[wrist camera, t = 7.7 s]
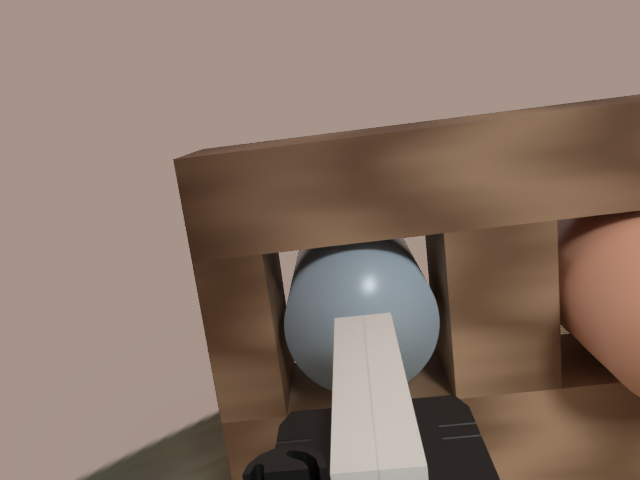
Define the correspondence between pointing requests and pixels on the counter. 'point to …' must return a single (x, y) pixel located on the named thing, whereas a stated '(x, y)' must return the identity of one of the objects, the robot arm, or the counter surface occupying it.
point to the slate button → (358, 303)
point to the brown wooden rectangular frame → (443, 267)
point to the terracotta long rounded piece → (603, 289)
